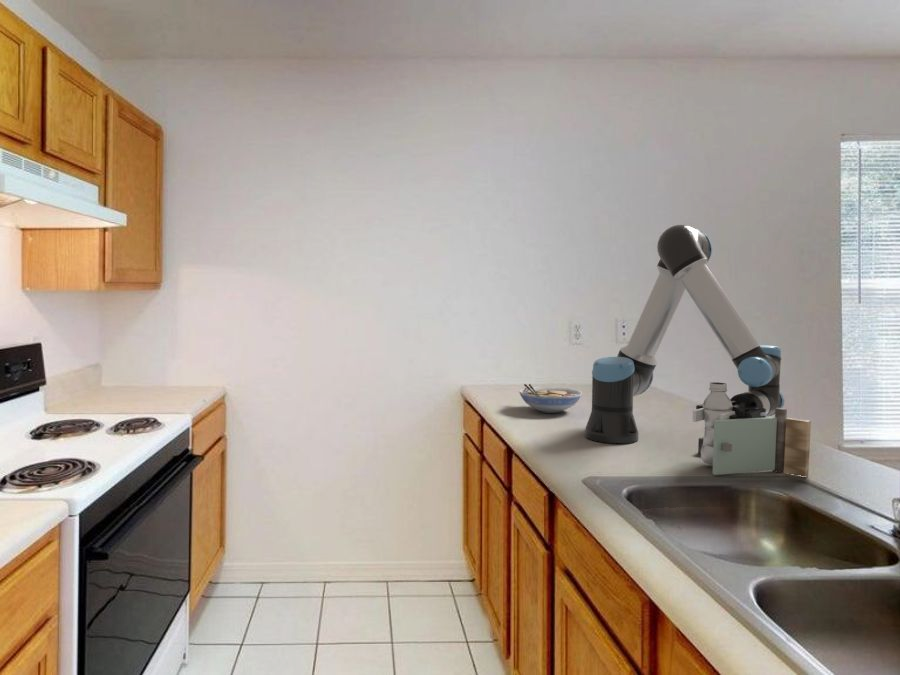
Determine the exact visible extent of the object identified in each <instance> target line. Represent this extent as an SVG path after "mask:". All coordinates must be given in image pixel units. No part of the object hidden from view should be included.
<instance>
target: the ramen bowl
mask: <svg viewBox="0 0 900 675" xmlns="http://www.w3.org/2000/svg"><path fill="white" fill-rule="evenodd" d="M523 385H524V388H521V389H519V391H518V393H519V395H520V396H521V398H522V400H523V401H524V403H525V404H527V405H528V406H529V407H531V408H533V409H535V410H538V412H541V413H543V414H558V413H561V412H563V411H565V410H568V409H571V408H573V406H575V405H576V404H577V403H578V401H579V399H580V398H581V396H582V395H583V392H582V391H581V390H578V389H574V388H568V387H557V386H532V384H531V383H529V384H528V385H527V384H526V383H525V384H523Z"/></svg>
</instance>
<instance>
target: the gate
mask: <svg viewBox="0 0 900 675" xmlns="http://www.w3.org/2000/svg"><path fill="white" fill-rule="evenodd" d="M776 427H777V418H775V416H766V418H747V419H728V420H714V446H713V465H712V473H711V474H712V475H715V476H716V475H717V476H718V475H729V474H732V475H733V474H742V473H754V472H767V471H773V470H775V450H776Z"/></svg>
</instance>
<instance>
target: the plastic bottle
mask: <svg viewBox="0 0 900 675" xmlns="http://www.w3.org/2000/svg"><path fill="white" fill-rule="evenodd" d="M727 388H728V386H727V383H726V382H718V381H717V382H716V381H713V382H711V381H710V382H709V389H708V390H709V391H710V392H709V394H707V396H706V397H705V399H704V401H703V403H702V404H703V408H704V409H703V411H704V420H703V421H704V423H703V424H704V433H703V437H704V440H703V445H702V449H701V454H700V457H701V458H700V459H701V460H702V461H703V463H704V464H708V465H712V466H713V446H714V420H720V414H723V413H727V412H732V408H733V405H732V402H731V400H730V399H731V398H729V396H728V395H727V393H726V392H728V389H727Z"/></svg>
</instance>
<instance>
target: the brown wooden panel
mask: <svg viewBox="0 0 900 675" xmlns="http://www.w3.org/2000/svg"><path fill="white" fill-rule="evenodd" d="M774 417H775V418H777V427H776V450H775V470H774V471H773V472H775V471H777V472H776V473H780V472H783V474H785V473H788V474H787V475H789V474H794V475H801V476H808V477H809V470H810V469H809V468H810V446H811V445H810V444H811V443H810V442H811V430H812V429H811V428H812V426H811V424H812V420H808V419H800V418H794V417H788V409H787V408H784V407H783V408H775V414H774ZM703 440H704V436H701V437H699V438H698V446H697V449H698V450H697V451H698V452H697V454H700V455H701V449H702V445H703ZM794 475H793V476H794Z"/></svg>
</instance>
